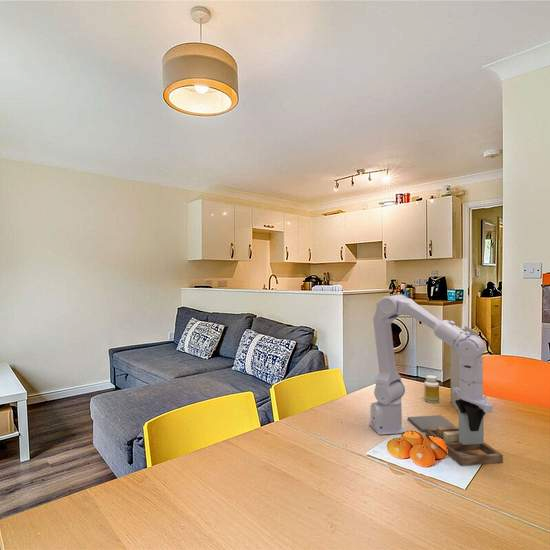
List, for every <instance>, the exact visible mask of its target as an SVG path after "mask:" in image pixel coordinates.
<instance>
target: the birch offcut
mask: <svg viewBox="0 0 550 550" xmlns="http://www.w3.org/2000/svg"><path fill="white" fill-rule="evenodd" d="M443 440H444V441H445V442H446V443H456V442H459V431H451V432H443Z"/></svg>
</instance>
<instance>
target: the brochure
mask: <svg viewBox="0 0 550 550" xmlns="http://www.w3.org/2000/svg"><path fill="white" fill-rule="evenodd" d="M459 328H460V329H462V330H463V331H465V332H467V331H468V332H470V335H476V336H479V332H478V331H476V330H475V329H472V328H470V327H468V326H466V325H465V326H464V328H462V327H459ZM449 346H450V345H449ZM449 353H450V362H449V363H450V403H451V402H452V403H451V404H452V406H453V405H454V406H455V407H454V406H453V407H454V408H455V410H456V409H457V410H458V411H457V410H456V411H457V412H458V414H459V413H460V410H459V408H458V406H457V404H456V402H455V401H456V400H460V398H459V397H458V396H457V395H453V394H452V388H457V387H459V388H460V356H459V355H458V354H457V352H456V349H454V348H453V347H451V346H450V352H449Z"/></svg>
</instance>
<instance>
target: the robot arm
mask: <svg viewBox="0 0 550 550" xmlns="http://www.w3.org/2000/svg"><path fill="white" fill-rule="evenodd" d="M375 304H376V309H375V312H374V315H373V318H372V319H373V322H372V323H373V328H374V338H375V346H376V354H377V355H376V356H377V362H378V363H377V364H378V375H377V376H376V378H375V387H374V389H373V390H374V391H373V392H374V398H375V399H376V402H371V404H370V422H369V426H371V428H372V429H373V430H374V431H375V432H376V433H377V435H380V436H382V435H396V434H397V435H398V434H399V435H400V434H404V433H403V432H405V431H407V430H406V429H405V428H404V427H403V425H402V422H403V421H402V420H403V419H402V418H403V417H402V414H403V413H402V397H403V396H404V395H405V393H406V388H405V384H404V383H403V381H402V377H401V375H400V373H398V371H397V364H396V357H395V349H394V348H395V347H394V342H393V341H394V340H393V331H392V323H393V322H394V321H395V320H396V319H397V318H398V317H400V316H410V317H412V318H413V319H415V320H417V321H419V322H421V323H422V324H423V325H425V326H427V327H428V328H430V329H431V330H433V333H434V336H435V337H436V338H438V339H439V340H441V341H442V342H444V343H445V344H447V345H448V346H451V347H453V348H454V349H456V352H457V354H458V355H459V356H460V388H459V387H457V388H452V394H453V395H457V396H458V397H459V398H460V400H456V401H455V402H456V404H457V406H458V408H459V410H460V413H467V414H468V419H469V427H470V430H471V431H479V427H480V424H481V421H482V418H483V419H484V416H485V415H486V414H487V413H494V410H493V409H494V408H493V407H494V405H493V404H491V403H490V402H489V401H488V400H487V395H485V394H484V378H483V377H484V365H483V354H484V353H485V352H486V343H485V341H484V340H483V339H482V338H481V337H480V336H479V335H478V336H476V335H470V332H468V331H467V332H465V331H463V330H462V329H463V328H462V329H460V328H461V327H459V326H458V325H456V322H455V321H454V320H448V319H443V320H440V319H439V318H438V317H436V316H434V315H433V314H432V313H430V312H429V311H428V310H426V309H425V308H423V307H422V306H421V305H420V304H418V303H417V302H415V301H414V299H412V298H410V297H407V296H406V295H404V294H402V293H400V294H395V295H385V296H382V297H381V298H380V299H379V300H378V301H377V302H376V303H375Z"/></svg>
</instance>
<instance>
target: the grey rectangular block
mask: <svg viewBox="0 0 550 550" xmlns="http://www.w3.org/2000/svg"><path fill="white" fill-rule="evenodd" d="M458 426H459V442H460V443H462V444H463V445H469V444H482V443H485V442H484V440H485V439H484V437H485V436H484V434H485V433H484V417H483V418H482V421H481V424H480V427H479V431H471V430H470V427H469V419H468V414H467V413H459V412H458Z"/></svg>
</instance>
